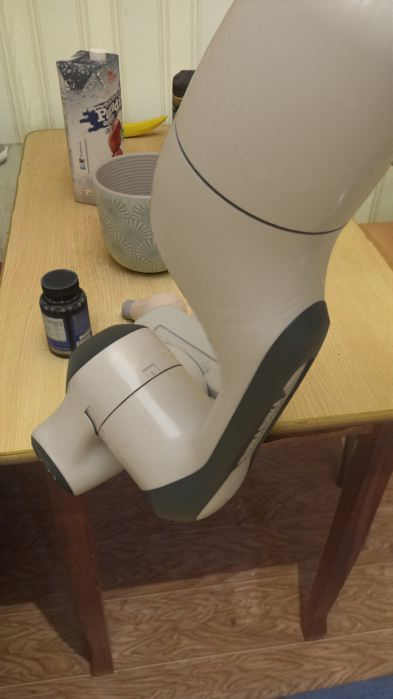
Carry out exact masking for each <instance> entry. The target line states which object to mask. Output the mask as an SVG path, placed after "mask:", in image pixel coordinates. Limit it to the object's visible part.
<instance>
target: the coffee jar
mask: <svg viewBox="0 0 393 699" xmlns="http://www.w3.org/2000/svg"><path fill="white" fill-rule="evenodd" d="M195 71H196V69H181V70H180V71H179V72H177V73H176V74H175V75H174V76H173V77H172V81H171V82H172V84H171V85H172V86H171V93H172V94H171V119H172V120H171V122H173V120H174V117H175V115H176V113H177V111H178V108H179V106H180V104H181V101H182V99H183V97H184V95H185V92H186V90H187V88H188V86H189V83H190V81H191V79H192V77H193V75H194V73H195Z"/></svg>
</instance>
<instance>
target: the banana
mask: <svg viewBox="0 0 393 699" xmlns="http://www.w3.org/2000/svg"><path fill="white" fill-rule="evenodd" d="M167 118H169V115H162V116H158V117H154V118H151V119H147V120H143V121H135V122H127V123H126V122H123V128H124V138H130V137H137V136H139V135H143V134H146V133H150V132H152V131H153V130H156V129H157V128H158V127H160V126H161V125H162V124H163V123H164V122H166V120H167Z"/></svg>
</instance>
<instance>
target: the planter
mask: <svg viewBox="0 0 393 699" xmlns="http://www.w3.org/2000/svg"><path fill="white" fill-rule="evenodd" d="M160 152H161V151H135V152H129V153H125V154H123V155H119V156H115V157H112V158H110V159H107V160H105V161H103V162H102V163H100V164H99V165H97V166H96V167H95V169H94V170H93V172H92V183H93V188H94V194H95V199H96V205H95V206H96V210H97V215H98V220H99V226H100V232H101V236H102V239H103V242H104V245H105V247H106V249H107V252H108V253H109V254H110V257H112V259H114V261H116V262H117V263H118V264H119V265H121V266H122V267H124V268H126V269H128V270H131V271H134V272H140V273H145V274H146V273H147V274H155V273H162V272H165V271H168V270H167V268H166V266H165V264H164V262H163V260H162V258H161V256H160V253H159V251H158V248H157V245H156V242H155V239H154V236H153V232H152V227H151V219H150V201H151V190H152V182H153V176H154V171H155V167H156V164H157V160H158V157H159V154H160Z"/></svg>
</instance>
